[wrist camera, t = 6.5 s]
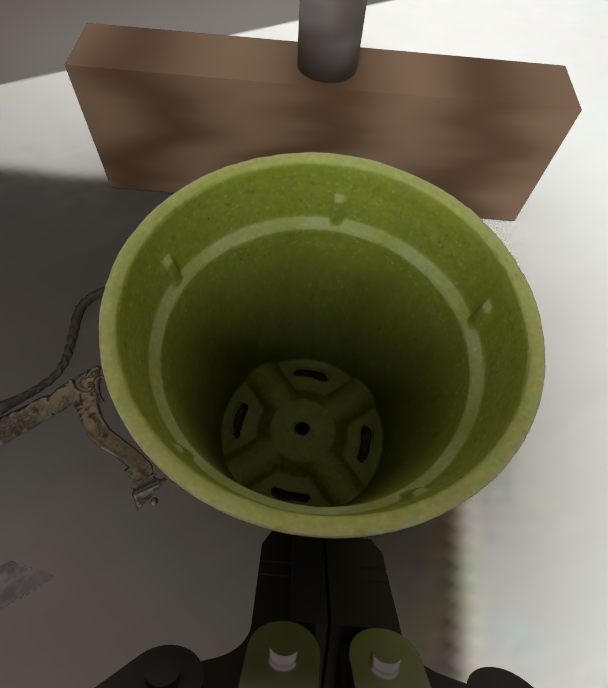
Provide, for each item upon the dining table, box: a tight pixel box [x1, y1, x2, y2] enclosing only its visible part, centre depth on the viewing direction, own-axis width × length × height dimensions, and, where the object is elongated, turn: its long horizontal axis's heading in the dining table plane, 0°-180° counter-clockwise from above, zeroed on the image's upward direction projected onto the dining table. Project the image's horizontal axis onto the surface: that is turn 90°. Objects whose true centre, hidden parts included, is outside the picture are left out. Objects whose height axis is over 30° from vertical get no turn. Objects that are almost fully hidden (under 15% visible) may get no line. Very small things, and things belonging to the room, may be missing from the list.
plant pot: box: [99, 152, 545, 538], centre depth 14 cm, size 9×9×9 cm
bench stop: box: [65, 0, 582, 221], centre depth 20 cm, size 20×3×9 cm, turn 87°
